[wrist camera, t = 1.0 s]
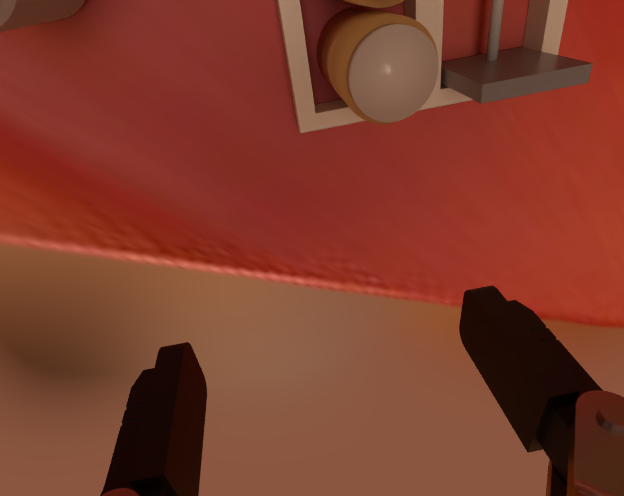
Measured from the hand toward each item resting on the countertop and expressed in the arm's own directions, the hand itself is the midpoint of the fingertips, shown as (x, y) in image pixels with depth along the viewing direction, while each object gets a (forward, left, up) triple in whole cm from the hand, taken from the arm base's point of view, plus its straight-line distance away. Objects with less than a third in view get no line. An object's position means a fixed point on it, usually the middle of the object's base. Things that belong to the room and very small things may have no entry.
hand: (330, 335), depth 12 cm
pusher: (-5, +17, -25) cm, 31 cm away
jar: (-3, +7, -25) cm, 27 cm away
